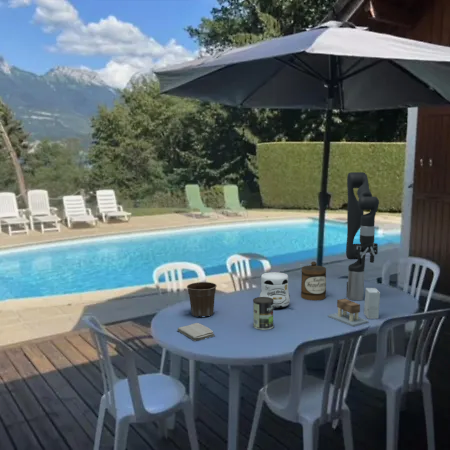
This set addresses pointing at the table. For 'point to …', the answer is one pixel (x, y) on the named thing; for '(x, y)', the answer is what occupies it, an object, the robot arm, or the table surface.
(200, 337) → the washcloth
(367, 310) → the skincare box
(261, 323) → the coffee can
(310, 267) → the wooden container
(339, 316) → the peg stand
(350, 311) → the plank
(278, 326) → the table surface
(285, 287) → the milk container
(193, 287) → the plant pot
